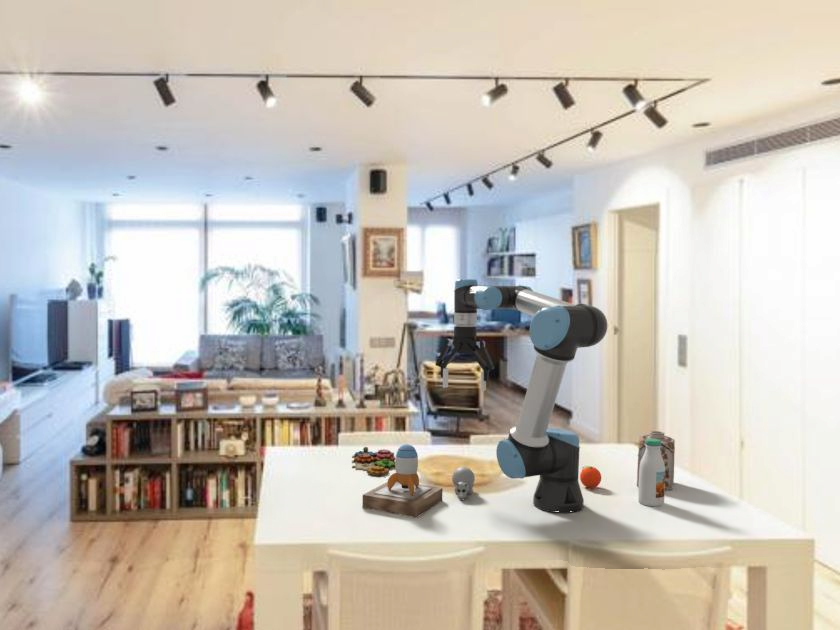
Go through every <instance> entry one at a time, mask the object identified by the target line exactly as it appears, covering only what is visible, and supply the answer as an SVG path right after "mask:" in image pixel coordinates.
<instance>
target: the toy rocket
mask: <svg viewBox="0 0 840 630" xmlns="http://www.w3.org/2000/svg"><path fill="white" fill-rule="evenodd" d="M394 462H395V472H394V473H392V474H391V475H390V476H389V478H388V479H387V481H386V482H387V486H388V489H389V490H391V488H392V487H393V486H394V484H395V483H396V482H398V483H400V484H401V485H402V488H404V489H409V491H410V495H411V496H413V495H414V485H415V486H416V487H418V486H419V484H420V478H419V477H420V476H419V475H418V468H419V467H418V466H419V456H418V452H417V450H416V448H415V447H414V446H413V445H411V444H408V443H406V444H405V443H404V444H403V445H400V446H399V448H398V449H397V451H396V455H395V461H394Z"/></svg>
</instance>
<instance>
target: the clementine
mask: <svg viewBox="0 0 840 630" xmlns="http://www.w3.org/2000/svg"><path fill="white" fill-rule="evenodd" d="M579 479H580V482H581V484H582V485H583V486H585V487H586V488H589V489H594V488H596V487H598V486H599V485H600V484H601V482H602V474H601V472H600V470H599V469H598V468H596V467H594V466H589V465H587V466H586V465H585V466H583V467H582V468H581V472H580V473H579Z"/></svg>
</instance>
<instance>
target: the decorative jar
mask: <svg viewBox="0 0 840 630" xmlns="http://www.w3.org/2000/svg"><path fill="white" fill-rule="evenodd" d="M649 438H654V439H659V440H661V447H660V453H661V456H662V458H663V461H664V464H665V491H674V480H675V479H674V478H675V477H674V476H675V453H676V451H675V442H676V441H675V439H674V438H672V437H670V436H667V435H665V432H663V431H660V430H658V431H657V430H651V431H649V434H644V435H640V436H639V440H638V447H637V448H638V454H637V472H636V487H637V488H639V468H640V462H641V459H642V457H643V455H644V453H645V450H646V446H645V445H646V444H645V440H646V439H649Z"/></svg>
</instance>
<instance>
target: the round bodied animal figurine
mask: <svg viewBox="0 0 840 630" xmlns="http://www.w3.org/2000/svg"><path fill="white" fill-rule="evenodd" d="M475 478H476V477H475V473H474V472H473V470H472V469H471V468H469V467H466V466H460V467H457V468H456V469H455V470H454V471H453V473H452V476H451V479H452V484H453V486H454V493H455V494H456V495H457V498H458V499H459V500H461V501H464V500H465V499H467V496H469V495H472V494H473V493H474V490H473V488H474V486H475V485H474V484H475V481H476V479H475Z"/></svg>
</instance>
